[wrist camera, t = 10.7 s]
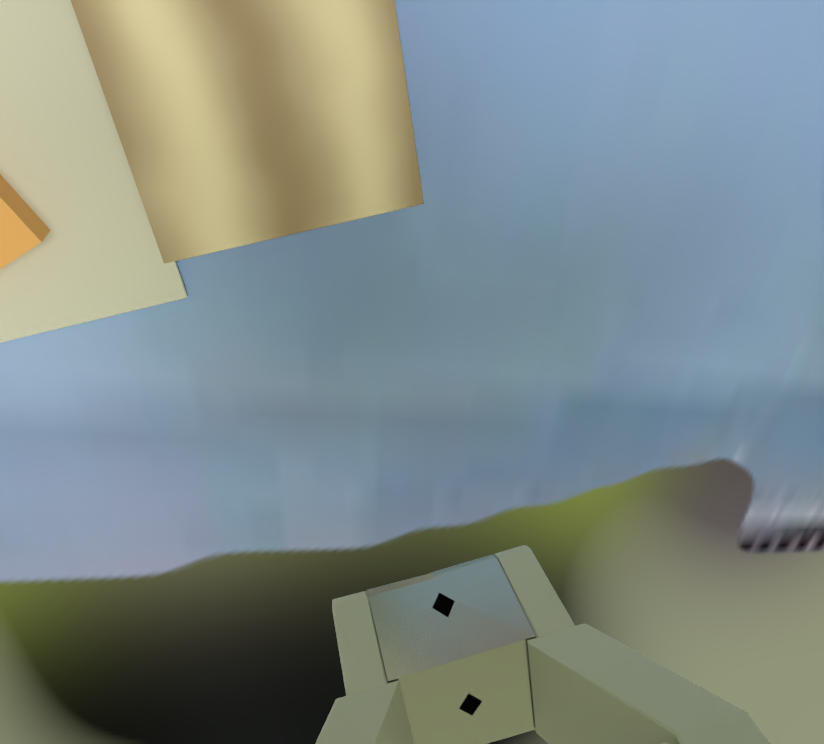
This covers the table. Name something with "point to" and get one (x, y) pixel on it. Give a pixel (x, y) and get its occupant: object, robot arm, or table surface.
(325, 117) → the cylinder
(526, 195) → the table surface
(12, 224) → the orange tile
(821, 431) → the table surface
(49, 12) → the cream board
